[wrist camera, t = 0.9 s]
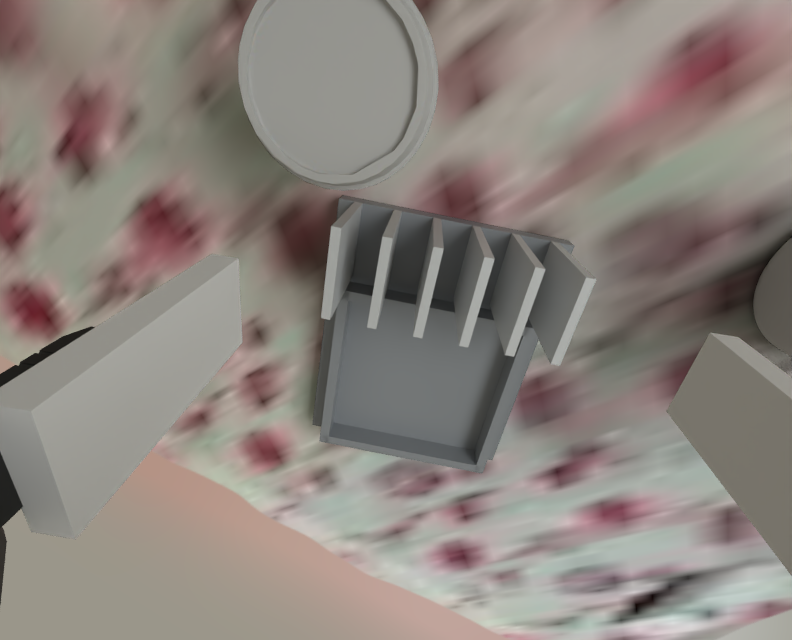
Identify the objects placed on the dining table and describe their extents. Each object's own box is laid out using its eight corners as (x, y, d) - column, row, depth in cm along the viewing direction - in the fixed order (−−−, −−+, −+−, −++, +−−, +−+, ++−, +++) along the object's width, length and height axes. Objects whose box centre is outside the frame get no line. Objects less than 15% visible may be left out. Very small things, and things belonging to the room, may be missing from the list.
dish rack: (490, 449, 42) (504, 532, 34) (316, 414, 42) (286, 489, 33) (568, 240, 32) (616, 283, 24) (342, 195, 32) (310, 221, 24)
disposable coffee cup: (307, 166, 32) (242, 190, 21) (297, 14, 28) (210, -54, 17) (432, 171, 31) (432, 198, 20) (441, 16, 27) (447, -54, 16)
